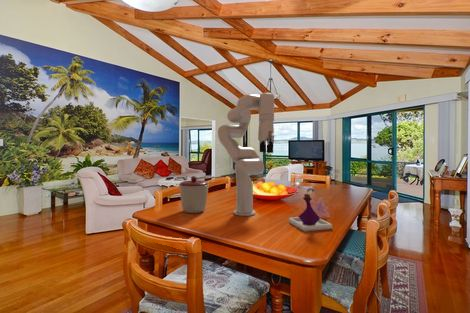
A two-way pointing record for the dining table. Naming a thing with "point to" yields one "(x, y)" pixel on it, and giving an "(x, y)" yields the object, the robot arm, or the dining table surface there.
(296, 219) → the tray
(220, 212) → the dining table surface
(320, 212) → the lily
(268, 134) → the robot arm
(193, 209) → the canister
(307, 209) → the perfume bottle
